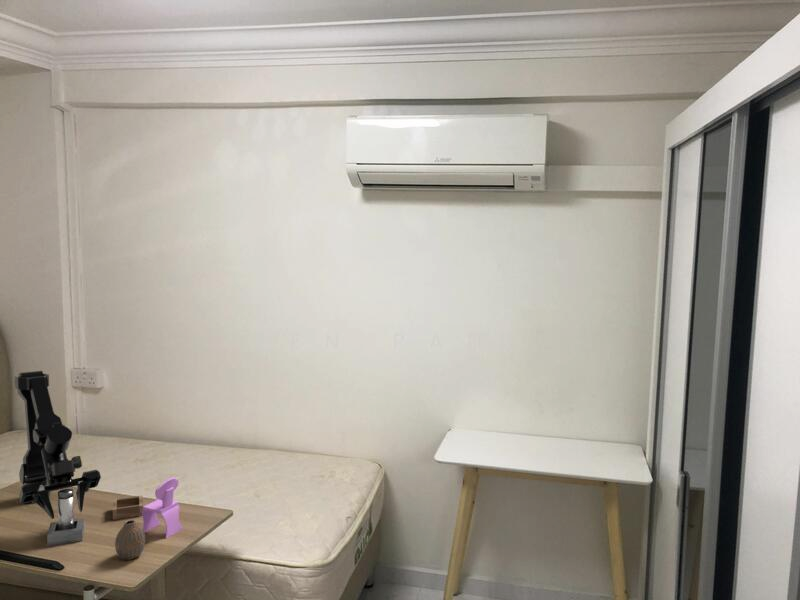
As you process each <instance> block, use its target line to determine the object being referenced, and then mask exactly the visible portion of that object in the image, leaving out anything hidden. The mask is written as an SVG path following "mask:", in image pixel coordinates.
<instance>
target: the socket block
mask: <svg viewBox="0 0 800 600" xmlns="http://www.w3.org/2000/svg"><path fill="white" fill-rule="evenodd" d="M84 532H85V517H79V518H74V529H68V530H61V531H59V526H58V521H53V522H52V521H51V522H50V523H49V528H48V530H47V533H46V534H47V535H46V539H47V540H46V542H47V544H46V545H47V547H51V546H58V545H65V544H69V542H71V543H77V542H82V541H83V540H84V539H83V538H84V534H85V533H84ZM64 543H65V544H64Z"/></svg>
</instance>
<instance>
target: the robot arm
mask: <svg viewBox="0 0 800 600" xmlns="http://www.w3.org/2000/svg"><path fill="white" fill-rule="evenodd" d="M13 381H14V387H15V389H17V390H16V391H17V395H18V396H19V397H20V398H21V399H22V401H23V402H24V410H25V411H24V413H25V426H26V438H27V449H26V451H25V454H24V455H23V457H22V463H21V464H20V469H19V471H18V474H19V481H20V483H21V484H22V486H21V488H20V490H19V502H20V504H22V505H23V504H31V503H32V505H36V504H37V505H38V506H39V507H40V508H41V509H42V510H44V511H45V513H46V514H47V515H48V516H49V518H50V519H51V520H53V519H55V512H54V509H53V506H52V504H51V500H50V496H51V492H53V491H58V490H59V491H60V490H63V489H70V488H72V487H76V488H77V489H76V492H75V493H76V500H77V506H78V510H79V512H80V513H82V512H83V509H84V501H85V495H86V493H87V492H89V490H90V489H93V488H96V487H98V485H99V483H100V481H101V478H102V476H101V472H100V471H99V470H98V469H92V470H89V471H83V472H82V475H81V477H77V478H73V477H74V476H75V472H76V469H77V470H78V469H81V468H82V467H83V461H82V458H81V455H76V456H73V457H72V458H71V459H69V458H68V457H67V451H68V448H69V446H70V443H71V439H72V437H73V432H72V430H71V429H70V428H68V427H67V426H65V424H63V421H62V418H61V417H60V416H59V415H57V414H56V413H55V411H54V407H53V405H52V400H51V395H50V391H49V388H48V387H50V374H49V373H44V372H43V370H35V371H33V370H32V371H26V372H24V371H23V372H19V373H18V376H15V377H14V380H13Z"/></svg>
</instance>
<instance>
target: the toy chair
mask: <svg viewBox="0 0 800 600" xmlns="http://www.w3.org/2000/svg"><path fill="white" fill-rule="evenodd" d="M178 486H179V479H178V478H177V477H170V478H168V479H166V480H165V481H163V482H161V483H160V484H159V485H158V486H157V487H156V489H155V492H154V494H155V497H156V500H154V501H152V502H151V503H148V504H146V505H143V510H142V515H143V516H142V519H143V520H142V523H143V525H142V526H143V527H142V530H143V532H145V533H146V531H147V532H149V531H150V530H152V529H154V528H156V527H158V526H160V525H161V521H160V520H159V519H158V515H157V514H159V515H160V516H161V518H162V519H163V521H164V523H165V539H168V538H170V537H171V535H172V536H173V535H176V532H177V533H178V531H179V532H180V531H183V529H184V528H183V526H182V524H181V522H180V518H179V517H180V516H179V515H180V506H179V502H178V501H176V500H174V492H175V490H176V489H177V488H178ZM159 524H160V525H159ZM157 525H158V526H157ZM155 526H156V527H155ZM153 527H154V528H153ZM151 528H152V529H151ZM149 529H150V530H149ZM148 530H149V531H148ZM169 536H170V537H169Z"/></svg>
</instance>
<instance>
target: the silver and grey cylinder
mask: <svg viewBox="0 0 800 600" xmlns="http://www.w3.org/2000/svg"><path fill="white" fill-rule="evenodd" d="M74 505H75V503H74V489H73V488H64V489H59V491H58V490H57V518H58V519H57V522H58V526H59V531H61V530H68V529H74V519H75V514H74V513H75V512H74V510H75V509H74Z"/></svg>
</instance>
